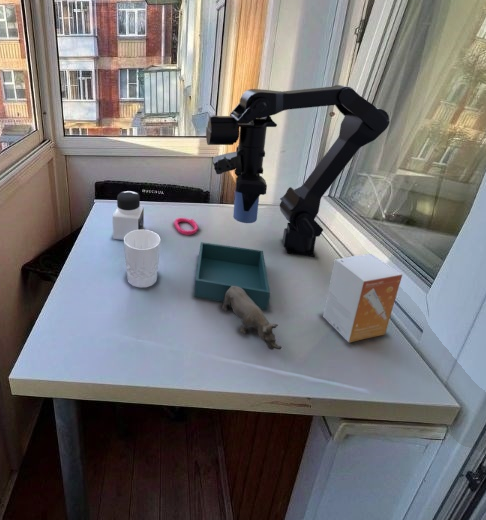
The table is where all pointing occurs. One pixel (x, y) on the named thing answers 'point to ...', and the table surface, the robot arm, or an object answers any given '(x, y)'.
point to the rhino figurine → (250, 315)
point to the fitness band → (188, 222)
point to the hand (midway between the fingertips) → (245, 205)
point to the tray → (231, 273)
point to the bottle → (239, 210)
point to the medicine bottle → (127, 214)
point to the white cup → (142, 257)
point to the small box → (361, 296)
